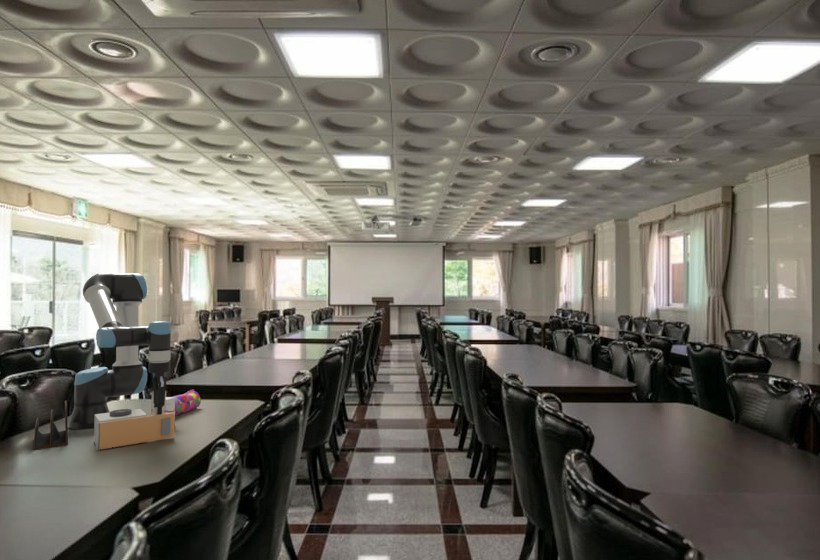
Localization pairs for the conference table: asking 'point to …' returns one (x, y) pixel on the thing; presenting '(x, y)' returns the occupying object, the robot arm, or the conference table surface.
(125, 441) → the side door
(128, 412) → the camera housing
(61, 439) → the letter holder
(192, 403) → the pencil case
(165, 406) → the ink cartridge box
